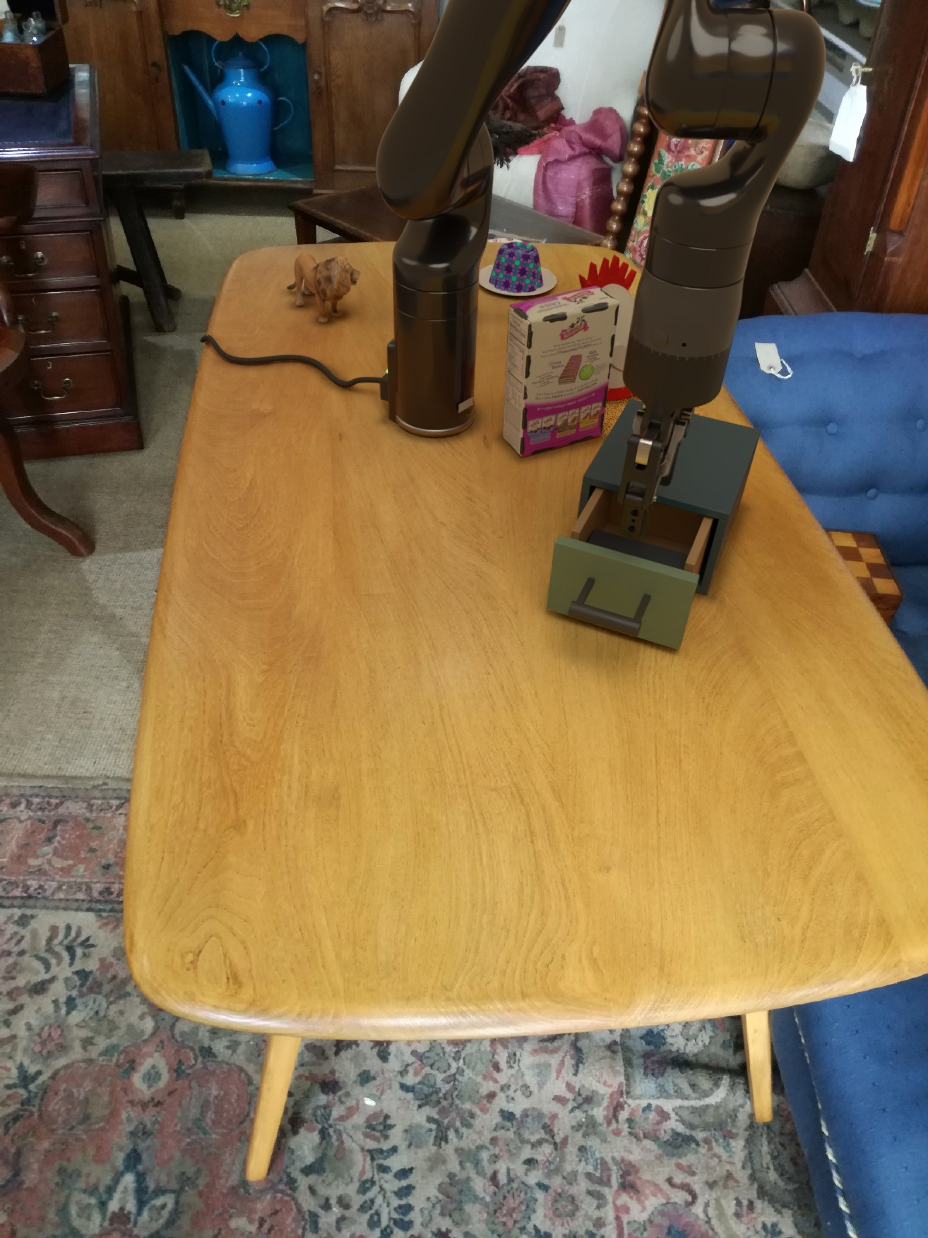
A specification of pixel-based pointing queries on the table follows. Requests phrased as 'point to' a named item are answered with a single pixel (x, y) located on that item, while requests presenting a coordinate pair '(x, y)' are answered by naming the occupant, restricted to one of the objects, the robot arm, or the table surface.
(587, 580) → the drawer
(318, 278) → the lion figurine
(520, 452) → the candy bar box
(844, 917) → the table surface
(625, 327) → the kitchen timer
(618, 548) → the matte charcoal brick
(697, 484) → the cabinet
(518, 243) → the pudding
